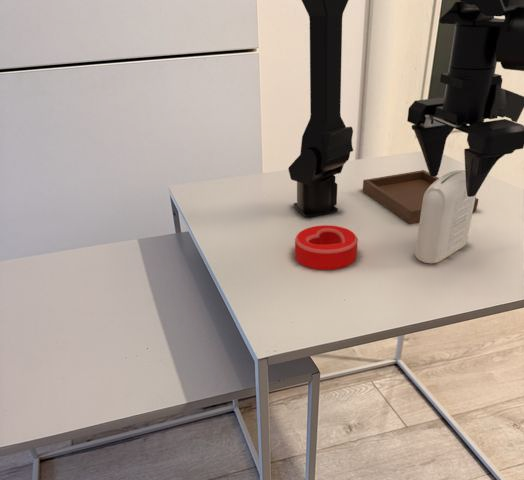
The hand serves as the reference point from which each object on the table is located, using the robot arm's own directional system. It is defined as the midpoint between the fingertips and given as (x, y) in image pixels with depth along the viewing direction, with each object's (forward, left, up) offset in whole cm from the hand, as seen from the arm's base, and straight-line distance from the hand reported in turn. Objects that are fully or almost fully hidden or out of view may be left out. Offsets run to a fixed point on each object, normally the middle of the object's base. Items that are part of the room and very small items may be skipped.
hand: (451, 185), depth 78 cm
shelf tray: (+8, +20, -10) cm, 24 cm away
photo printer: (0, 0, -11) cm, 11 cm away
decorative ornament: (-17, +6, -11) cm, 21 cm away
